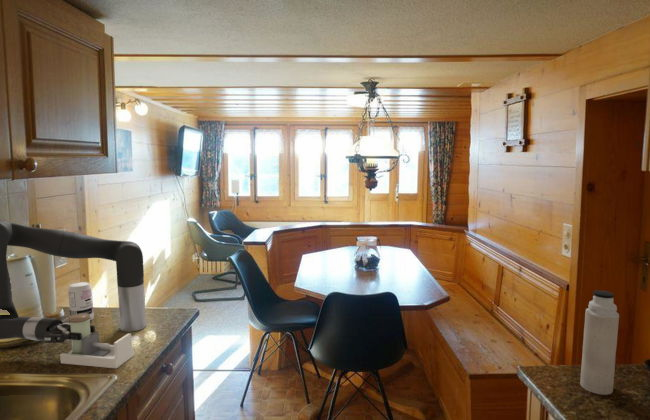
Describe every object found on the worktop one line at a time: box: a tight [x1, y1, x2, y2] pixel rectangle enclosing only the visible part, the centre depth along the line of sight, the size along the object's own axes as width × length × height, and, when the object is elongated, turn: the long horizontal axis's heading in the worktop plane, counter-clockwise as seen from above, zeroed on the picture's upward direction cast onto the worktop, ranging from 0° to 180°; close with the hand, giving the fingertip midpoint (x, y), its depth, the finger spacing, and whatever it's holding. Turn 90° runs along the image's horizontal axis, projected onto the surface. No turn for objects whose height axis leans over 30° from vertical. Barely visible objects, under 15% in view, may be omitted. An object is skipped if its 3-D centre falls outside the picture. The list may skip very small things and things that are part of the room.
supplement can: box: [67, 281, 95, 322], centre depth 178 cm, size 8×8×15 cm
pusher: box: [81, 330, 111, 357], centre depth 145 cm, size 7×7×7 cm
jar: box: [68, 313, 92, 355], centre depth 145 cm, size 6×6×13 cm
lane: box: [59, 332, 135, 369], centre depth 145 cm, size 20×9×8 cm, turn 79°
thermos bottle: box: [579, 290, 620, 396], centre depth 125 cm, size 8×8×28 cm
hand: (87, 332), depth 145 cm, fingers closed on jar, 5 cm apart
